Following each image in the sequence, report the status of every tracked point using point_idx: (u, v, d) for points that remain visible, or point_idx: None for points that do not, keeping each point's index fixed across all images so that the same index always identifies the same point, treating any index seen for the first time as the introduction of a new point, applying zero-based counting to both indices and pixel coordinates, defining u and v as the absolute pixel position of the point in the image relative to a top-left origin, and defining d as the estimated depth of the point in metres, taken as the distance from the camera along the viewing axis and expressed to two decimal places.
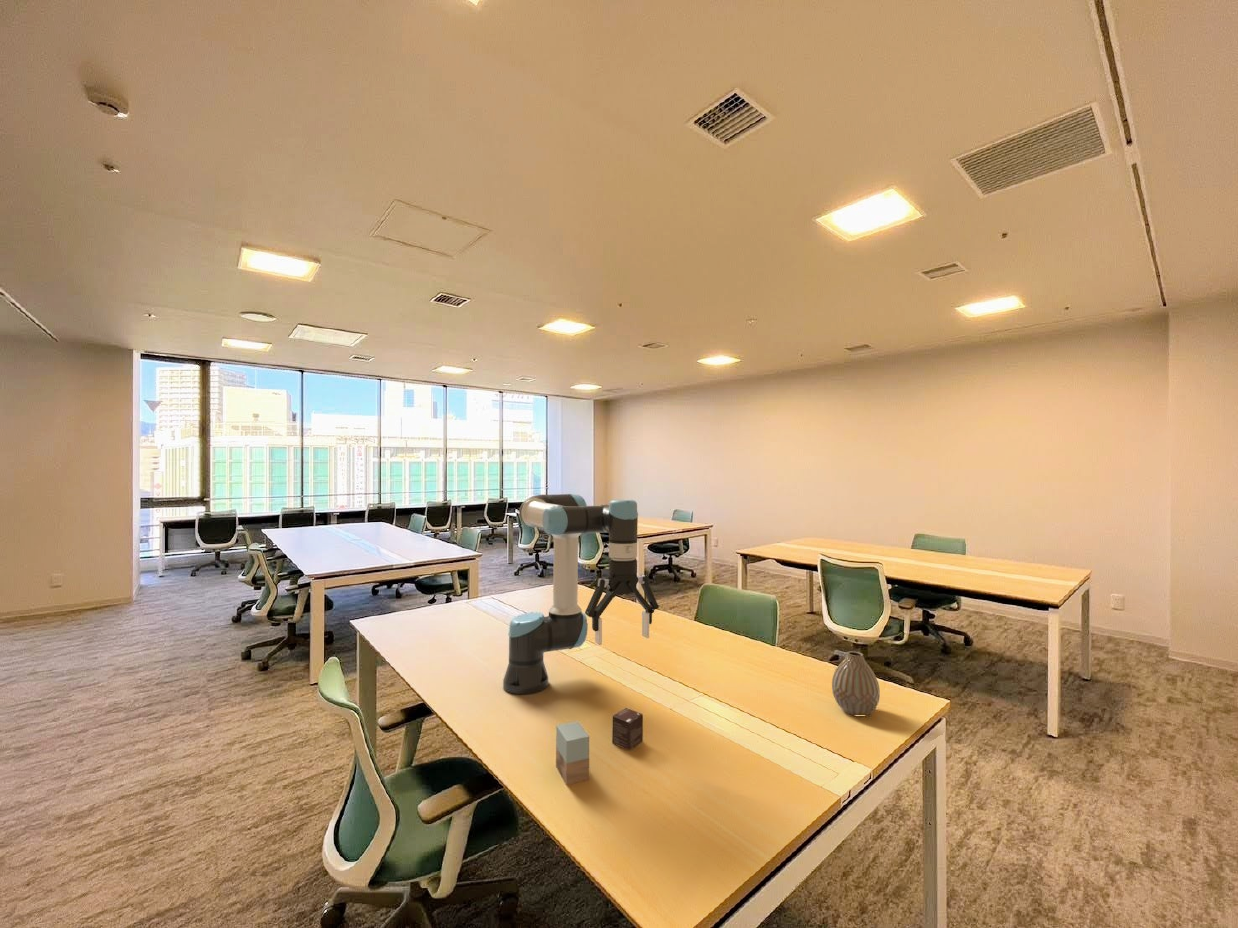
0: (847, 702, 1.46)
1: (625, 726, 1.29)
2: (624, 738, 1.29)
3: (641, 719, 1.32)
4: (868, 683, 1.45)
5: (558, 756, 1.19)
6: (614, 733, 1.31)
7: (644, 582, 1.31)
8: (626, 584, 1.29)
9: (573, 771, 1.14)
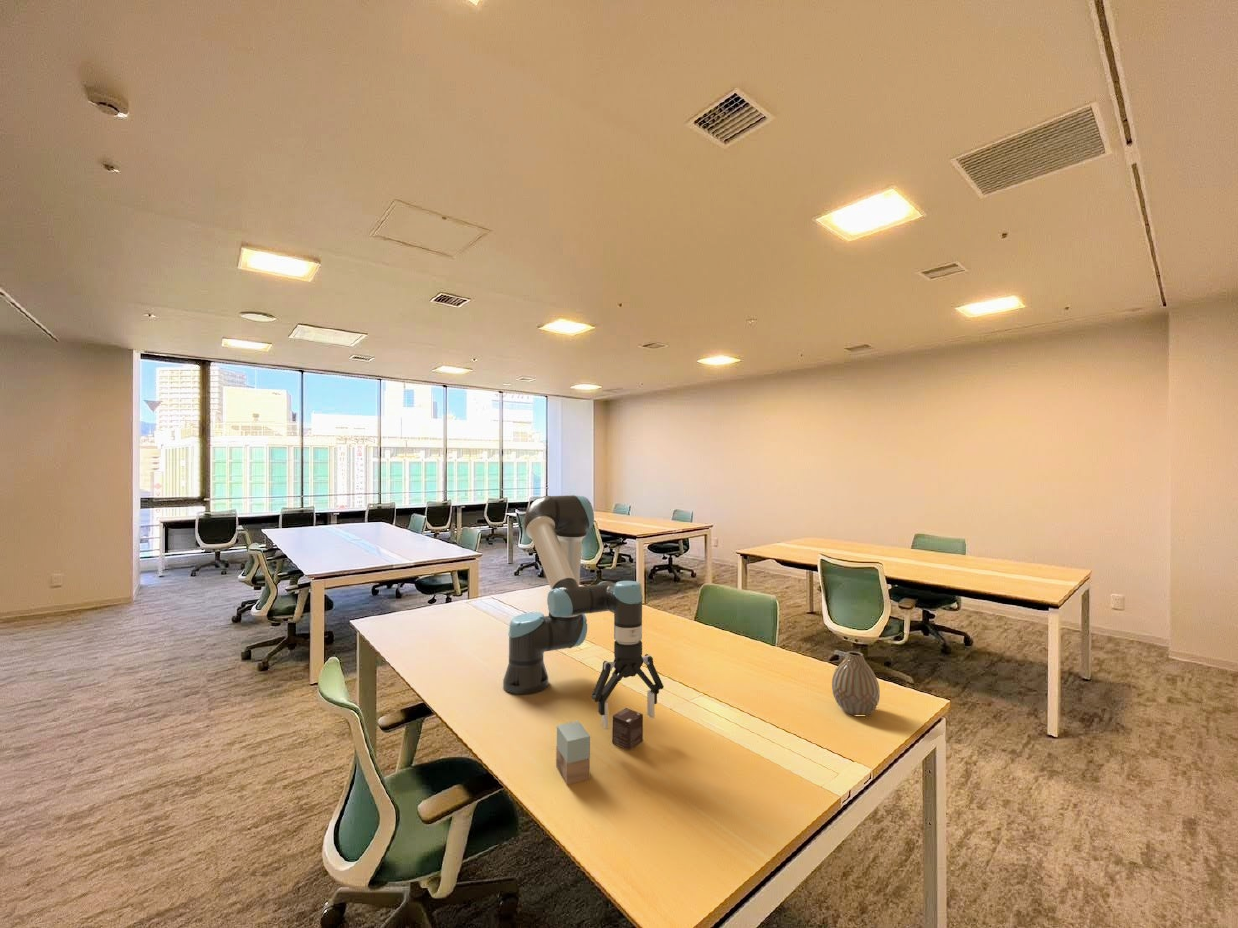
0: (847, 702, 1.46)
1: (625, 726, 1.29)
2: (624, 738, 1.29)
3: (641, 719, 1.32)
4: (868, 683, 1.45)
5: (558, 756, 1.19)
6: (614, 733, 1.31)
7: (649, 663, 1.34)
8: (631, 666, 1.31)
9: (574, 771, 1.14)
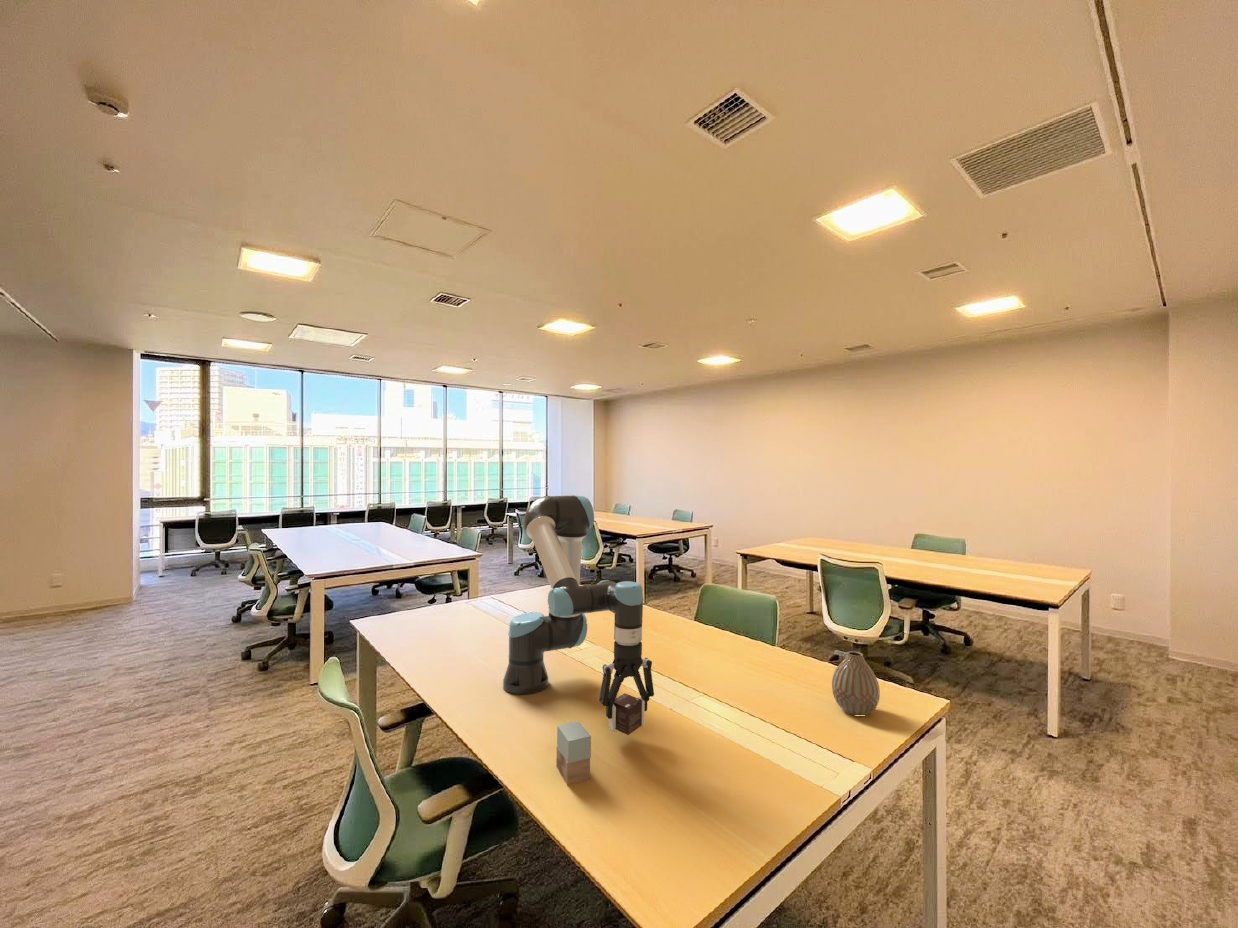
0: (847, 702, 1.46)
1: (624, 711, 1.29)
2: (623, 723, 1.30)
3: (640, 705, 1.33)
4: (868, 683, 1.45)
5: (559, 756, 1.19)
6: None
7: (647, 666, 1.34)
8: (631, 666, 1.32)
9: (574, 771, 1.14)
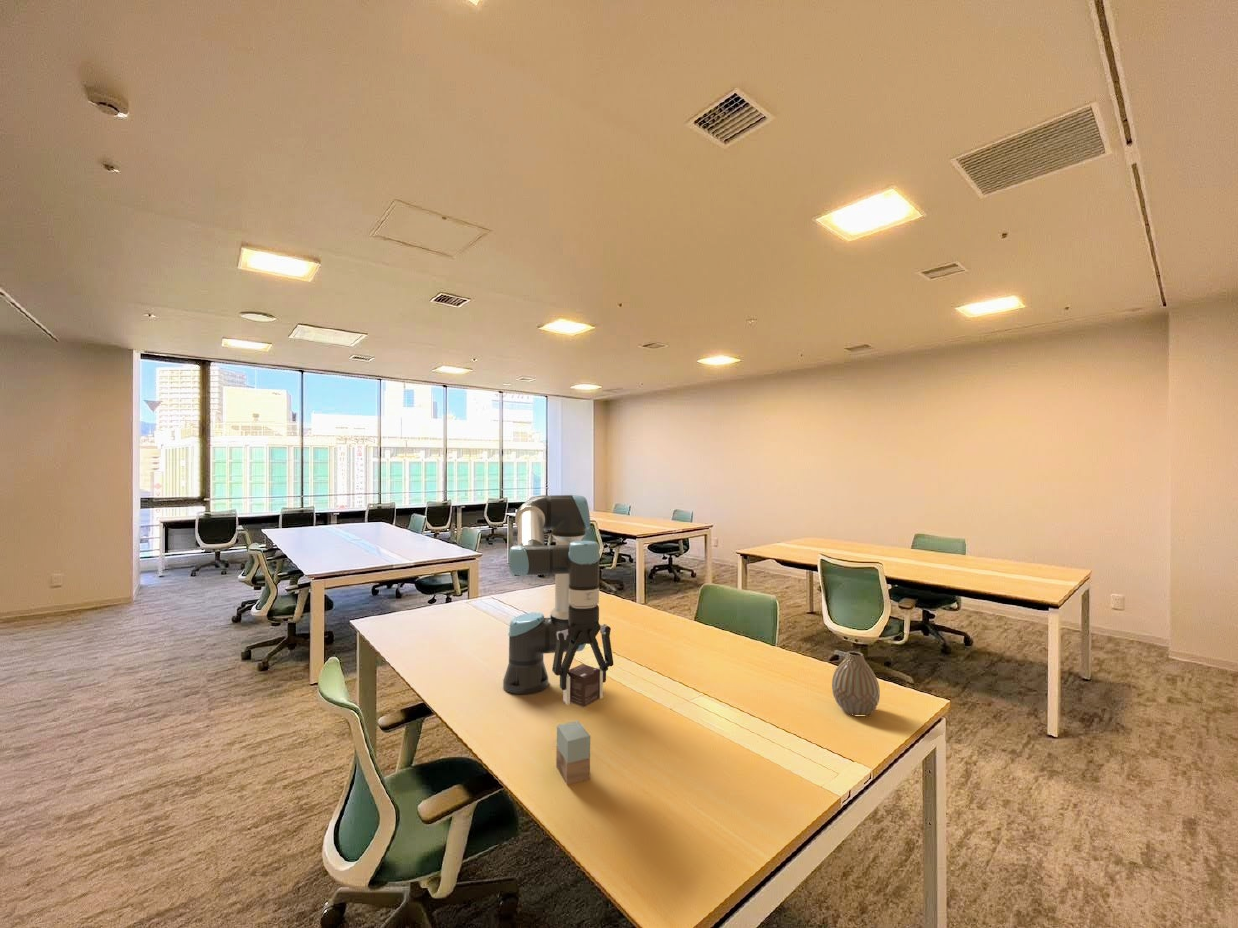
0: (847, 702, 1.46)
1: (579, 681, 1.18)
2: (578, 694, 1.18)
3: (598, 675, 1.21)
4: (868, 683, 1.45)
5: (558, 756, 1.19)
6: None
7: (605, 633, 1.22)
8: (587, 632, 1.20)
9: (574, 771, 1.14)
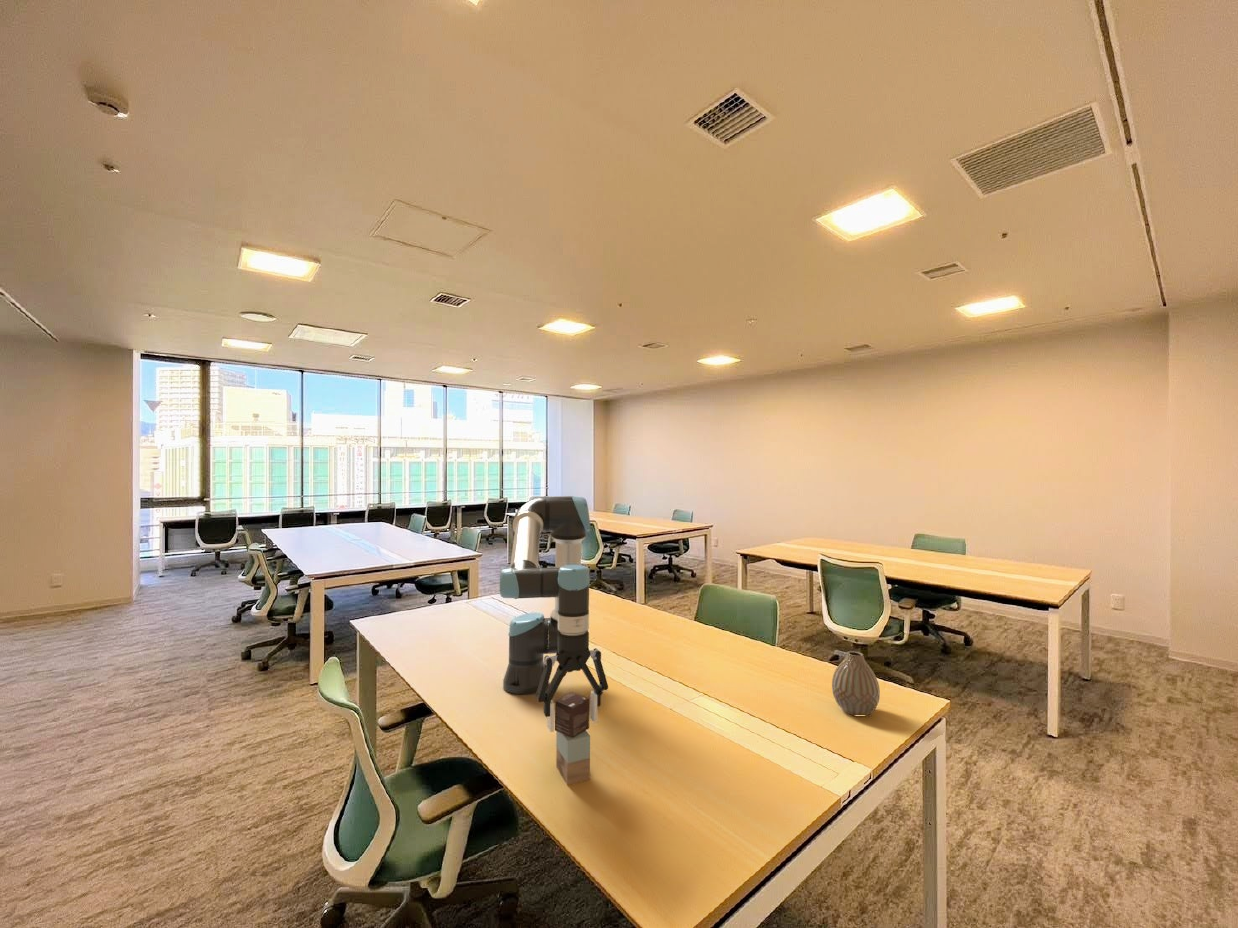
0: (847, 702, 1.46)
1: (568, 711, 1.15)
2: (567, 724, 1.15)
3: (587, 704, 1.19)
4: (868, 683, 1.45)
5: (559, 756, 1.19)
6: (557, 719, 1.18)
7: (596, 658, 1.20)
8: (576, 659, 1.18)
9: (574, 771, 1.14)
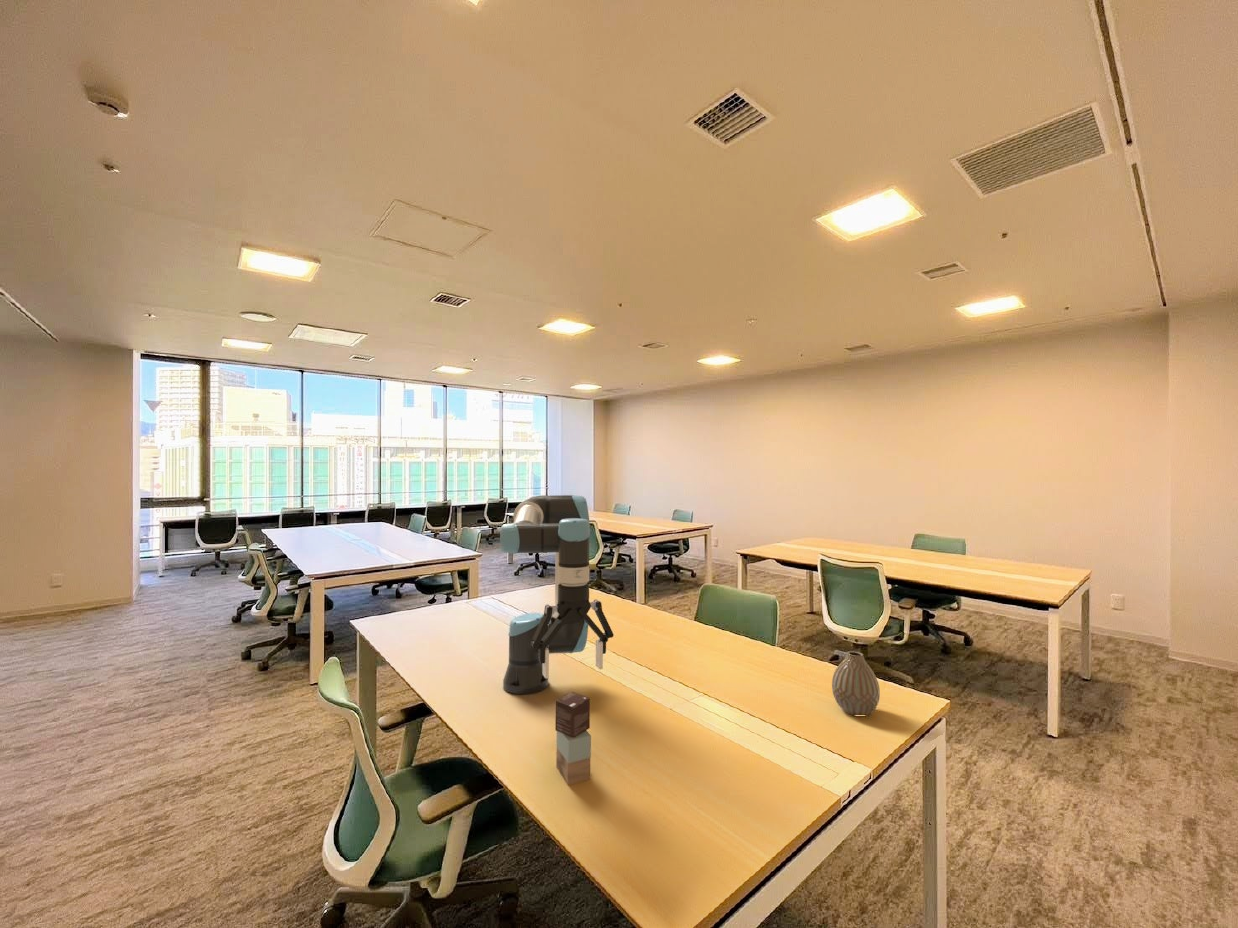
0: (847, 702, 1.46)
1: (569, 711, 1.15)
2: (568, 724, 1.15)
3: (588, 704, 1.19)
4: (868, 683, 1.45)
5: (559, 756, 1.19)
6: (557, 719, 1.18)
7: (597, 608, 1.21)
8: (577, 611, 1.18)
9: (574, 771, 1.14)
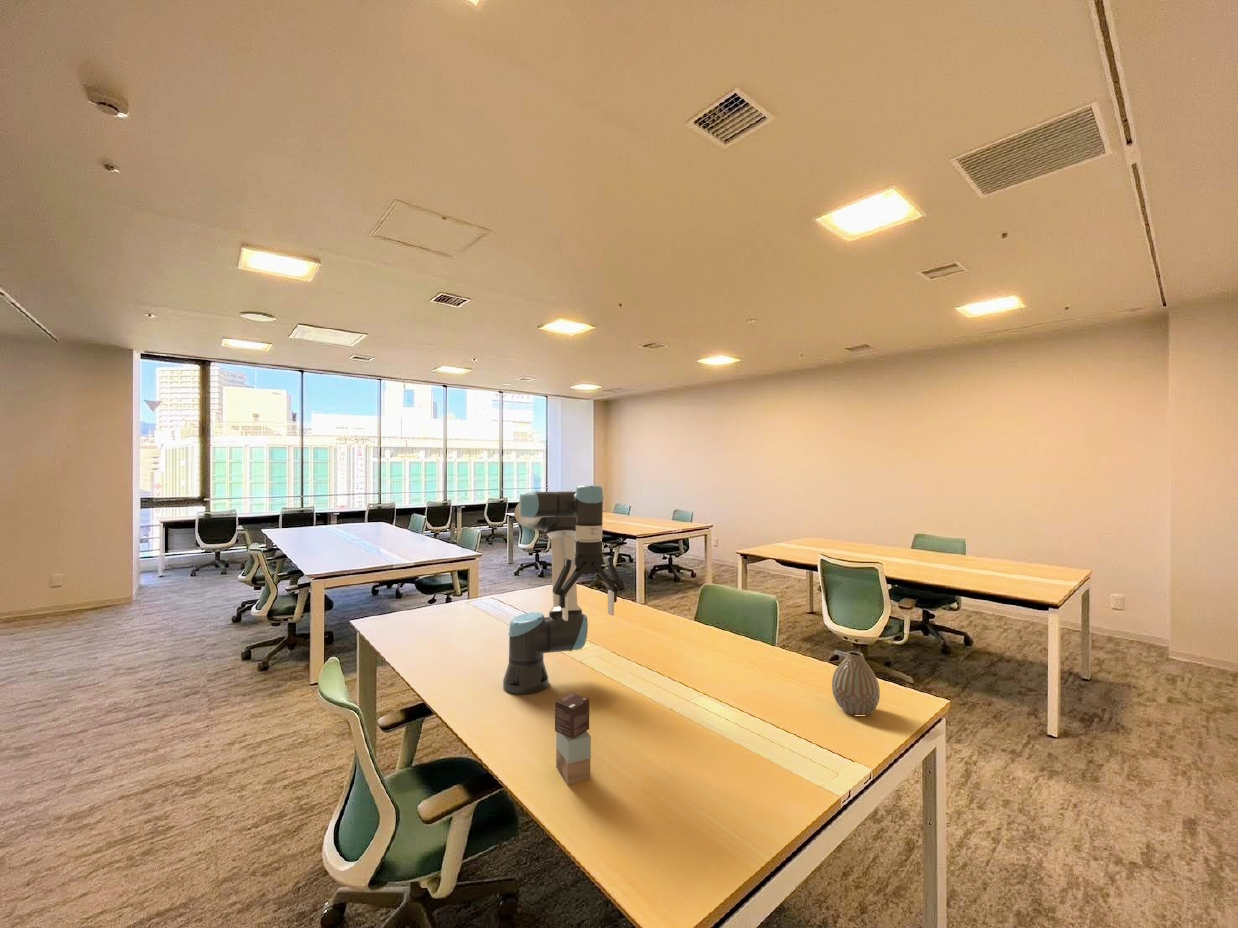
0: (847, 702, 1.46)
1: (568, 712, 1.15)
2: (567, 725, 1.15)
3: (587, 704, 1.18)
4: (868, 683, 1.45)
5: (559, 757, 1.19)
6: (557, 720, 1.17)
7: (609, 563, 1.40)
8: (592, 564, 1.37)
9: (574, 771, 1.14)
